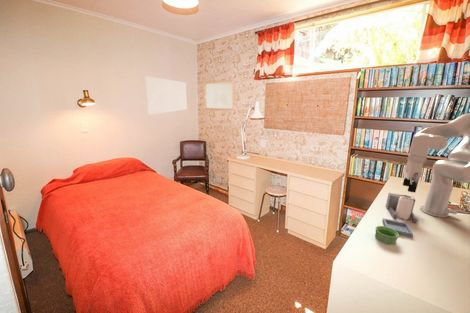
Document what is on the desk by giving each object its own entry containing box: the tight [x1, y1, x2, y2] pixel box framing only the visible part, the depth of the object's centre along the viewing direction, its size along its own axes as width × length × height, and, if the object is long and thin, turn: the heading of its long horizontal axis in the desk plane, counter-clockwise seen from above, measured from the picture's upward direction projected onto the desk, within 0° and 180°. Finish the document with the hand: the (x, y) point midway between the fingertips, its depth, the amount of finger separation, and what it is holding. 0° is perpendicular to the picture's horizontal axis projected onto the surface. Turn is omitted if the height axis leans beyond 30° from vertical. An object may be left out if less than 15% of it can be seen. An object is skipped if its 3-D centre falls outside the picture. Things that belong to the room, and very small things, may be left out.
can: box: [395, 194, 415, 220], centre depth 124 cm, size 6×6×12 cm
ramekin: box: [374, 225, 400, 245], centre depth 103 cm, size 9×9×4 cm
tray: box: [382, 217, 414, 239], centre depth 112 cm, size 11×11×2 cm
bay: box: [385, 192, 418, 224], centre depth 127 cm, size 12×16×9 cm
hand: (408, 188), depth 121 cm, fingers open, 9 cm apart
